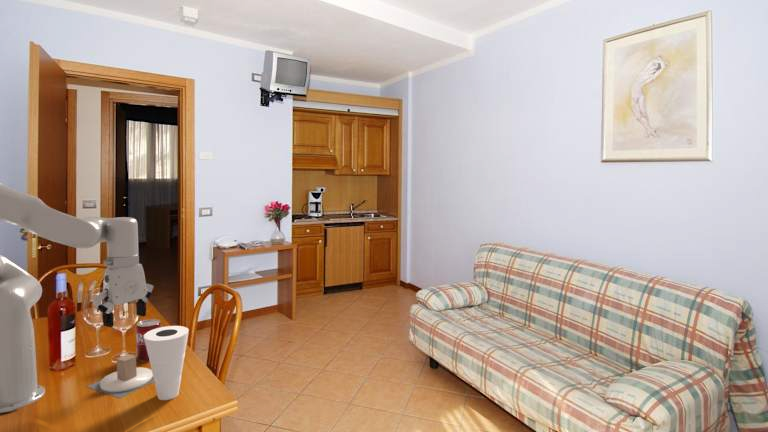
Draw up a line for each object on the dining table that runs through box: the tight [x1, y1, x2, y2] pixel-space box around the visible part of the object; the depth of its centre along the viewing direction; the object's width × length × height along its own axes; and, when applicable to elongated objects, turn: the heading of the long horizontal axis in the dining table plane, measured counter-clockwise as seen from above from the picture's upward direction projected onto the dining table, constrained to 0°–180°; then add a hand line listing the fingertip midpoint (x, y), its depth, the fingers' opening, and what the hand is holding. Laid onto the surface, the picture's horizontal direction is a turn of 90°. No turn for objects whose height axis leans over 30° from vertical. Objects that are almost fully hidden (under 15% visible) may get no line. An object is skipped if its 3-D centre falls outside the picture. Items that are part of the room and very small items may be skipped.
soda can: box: [135, 318, 162, 362], centre depth 137 cm, size 7×7×12 cm
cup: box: [144, 325, 190, 401], centre depth 113 cm, size 11×11×18 cm
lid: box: [99, 353, 153, 393], centre depth 121 cm, size 13×13×7 cm
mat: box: [86, 377, 155, 399], centre depth 121 cm, size 14×14×1 cm
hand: (125, 320), depth 120 cm, fingers open, 9 cm apart
